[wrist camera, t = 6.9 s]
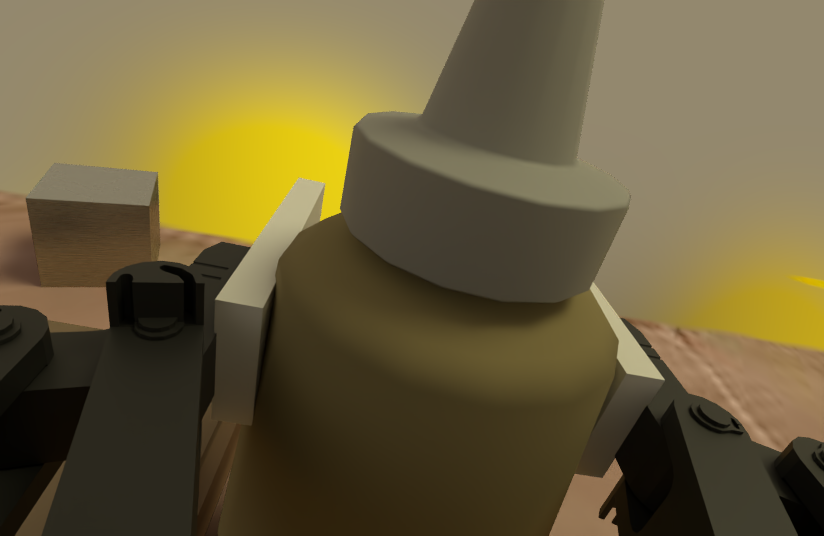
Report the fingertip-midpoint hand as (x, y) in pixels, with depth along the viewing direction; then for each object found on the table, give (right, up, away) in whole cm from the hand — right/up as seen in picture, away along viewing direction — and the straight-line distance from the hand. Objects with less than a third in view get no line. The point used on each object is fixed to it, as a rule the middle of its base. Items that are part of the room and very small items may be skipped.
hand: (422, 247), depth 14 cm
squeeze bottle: (-2, -11, 0) cm, 11 cm away
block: (-18, 0, +12) cm, 22 cm away
